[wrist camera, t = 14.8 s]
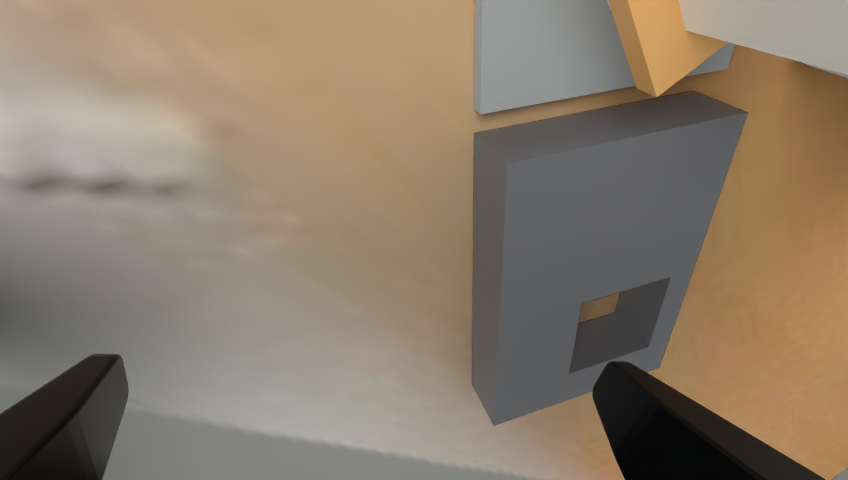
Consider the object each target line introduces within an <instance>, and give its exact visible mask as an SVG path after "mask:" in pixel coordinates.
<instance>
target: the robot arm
mask: <svg viewBox="0 0 848 480" xmlns="http://www.w3.org/2000/svg"><path fill="white" fill-rule="evenodd" d="M592 394H593V400H594V403H595V406H596V408H597V411H598V414H599V416H600V419H601V422H602V424H603V427H604V430H605V432H606V435H607V437H608V440H609V443H610V445H611V448H612V451H613V453H614V456H615V458H616V461H617V463H618V465H619V467H620V470H621V472H622V474H623V476H624V478H625V480H825V479H824V478H822V477H821V476H819V475H817V474H816V473H814V472H812V471H811V470H809V469H807V468H806V467H804V466H802V465H801V464H799V463H797V462H795V461H794V460H792V459H790V458H789V457H787V456H785V455H784V454H782V453H780V452H779V451H777V450H775V449H774V448H772V447H770V446H769V445H767V444H765V443H764V442H762V441H760V440H759V439H757V438H755V437H754V436H752V435H750V434H749V433H747V432H745V431H744V430H742V429H740V428H739V427H737V426H735V425H734V424H732V423H730V422H729V421H727V420H725V419H724V418H722V417H720V416H719V415H717V414H715V413H713V412H712V411H710V410H708V409H707V408H705V407H703V406H702V405H700V404H698V403H697V402H695V401H693V400H692V399H690V398H688V397H687V396H685V395H683V394H682V393H680V392H678V391H677V390H675V389H673V388H672V387H670V386H668V385H667V384H665V383H663V382H662V381H660V380H658V379H657V378H655V377H653V376H652V375H650V374H648V373H647V372H645V371H643V370H642V369H640V368H638V367H636V366H635V365H633V364H631V363H629V362H626V361H611V362H609V363H607V364H606V366H605V367H604V369H603V371H602V372H601V374H600V376H599V377H598V379H597V381H596V382H595V384H594V386H593V393H592ZM127 399H128V382H127V378H126V373H125V368H124V363H123V359H122V357H121V356H120V355H118V354H92V355H90V356H88V357H87V358H85V359H84V360H82V361H81V362H79V363H77V364H76V365H74V366H73V367H71V368H70V369H68V370H67V371H65V372H64V373H62V374H61V375H59V376H58V377H56V378H55V379H53V380H51V381H50V382H48V383H47V384H45V385H44V386H42V387H41V388H39V389H38V390H36V391H35V392H33V393H32V394H30V395H29V396H27V397H25V398H24V399H22V400H21V401H20V402H18V403H16V404H15V405H13V406H12V407H10V408H9V409H7V410H6V411H4V412H3V413H1V414H0V480H102V477H103V475H104V472H105V469H106V466H107V462H108V460H109V456H110V453H111V450H112V447H113V444H114V441H115V437H116V434H117V431H118V428H119V425H120V421H121V418H122V415H123V413H124V409H125V406H126V403H127Z"/></svg>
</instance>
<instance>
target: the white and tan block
mask: <svg viewBox="0 0 848 480" xmlns="http://www.w3.org/2000/svg"><path fill="white" fill-rule="evenodd" d="M607 2H608V5H609V8H610V10H611V11H612V14H613V17H614V20H615V23H616V27H617V30H618V33H619V36H620V39H621V42H622V45H623V48H624V51H625V54H626V57H627V60H628V63H629V66H630V69H631V72H632V75H633V78H634V81H635V84H636V87H637V89H639V90H641V91H643V92H646V93H648V94H650V95H652V96H655V97H658V96H659V95H661V94H662V93H663V92H664V91H666V90H667V89H668V88H670V87H671V86H672V85H674V84H675V83H676V82H677V81H679V80H680V79H681V78H683V77H684V76H685V75H687V74H688V73H689V72H690V71H692V70H693V69H694V68H696V67H697V66H698V65H700V64H701V63H702V62H703V61H705V60H706V59H707V58H709V57H710V56H711V55H713V54H714V53H715V52H716V51H718V50H719V49H720V48H722V47H723V46H724V45H726V44H727V43H728V42H730V43H733V44H737V45H741V46H744V47H748V48H751V49H755V50H759V51H762V52H766V53H770V54H773V55H777V56H780V57H784V58H788V59H791V60H795V61H799V62H802V63H806V64H810V65H813V66H817V67H820V68H824V69H828V70H831V71H835V72H839V73H842V74H846V75H848V0H607Z"/></svg>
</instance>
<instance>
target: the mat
mask: <svg viewBox="0 0 848 480" xmlns="http://www.w3.org/2000/svg"><path fill="white" fill-rule="evenodd" d="M735 45H736V44H733V43H730V42H728V43H727V44H726V45H724V46H723V47H722V48H720V49H719V50H718V51H716V52H715V53H714V54H713V55H711V56H710V57H709V58H707V59H706V60H705V61H703V62H702V63H701V64H700V65H698V66H697V67H696V68H694V69H693V70H692V71H690V72H689V73H688V74H687V75H685V76H684V77H687V76H692V75H698V74H703V73H708V72H714V71H719V70H725V69H728V67H729V64H730V61H731V58H732V54H733V51H734V48H735ZM633 86H636V84H635V81H634V78H633V75H632V72H631V69H630V66H629V63H628V60H627V57H626V54H625V51H624V48H623V45H622V42H621V39H620V36H619V33H618V30H617V27H616V23H615V20H614V17H613V14H612V11H611V10H610V8H609V5H608V2H607V0H475V68H474V110H475V111H477V112H478V113H479V114H480V115H481V114H486V113H492V112H497V111H503V110H508V109H513V108H519V107H524V106H530V105H535V104H540V103H546V102H551V101H557V100H562V99H568V98H573V97H578V96H584V95H589V94H595V93H600V92H605V91H611V90H616V89H622V88H627V87H633Z"/></svg>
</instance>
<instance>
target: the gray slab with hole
mask: <svg viewBox="0 0 848 480" xmlns="http://www.w3.org/2000/svg"><path fill="white" fill-rule="evenodd" d="M747 115H748V112H746V111H743V110H741V109H738V108H736V107H733V106H731V105H728V104H726V103H723V102H721V101H718V100H716V99H713V98H711V97H708V96H706V95H703V94H701V93H698V92H696V91H689V92H684V93H679V94H673V95H668V96H663V97H658V98H653V99H648V100H643V101H637V102H632V103H627V104H622V105H617V106H612V107H606V108H601V109H596V110H591V111H586V112H581V113H575V114H570V115H565V116H560V117H555V118H550V119H544V120H539V121H534V122H529V123H524V124H519V125H514V126H508V127H503V128H498V129H493V130H488V131H483V132H477V133H474V187H473V305H472V385H473V387H474V389H475V391H476V393H477V395H478V397H479V399H480V401H481V402H482V404H483V406H484V408H485V410H486V412H487V414H488V416H489V418H490V420H491V422H492V423H493V425H494V426H495V425H497V424H500V423H503V422H506V421H509V420H512V419H515V418H517V417H520V416H523V415H526V414H529V413H532V412H534V411H537V410H540V409H543V408H546V407H549V406H552V405H554V404H557V403H560V402H563V401H566V400H569V399H571V398H574V397H577V396H580V395H583V394H586V393H588V392H591V391H593V386H594V384H595V382H596V381H597V379H598V377H599V376H600V374H601V372H602V371H603V369H604V367H605V366H606V364H607V363H609V362H611V361H626V362H629V363H631V364H633V365H635V366H636V367H638V368H640V369H642V370H643V371H645V372H648V371H651V370H654V369H657V368H660V365H661V362H662V359H663V356H664V353H665V350H666V347H667V345H668V342H669V339H670V336H671V333H672V330H673V327H674V324H675V322H676V319H677V316H678V313H679V310H680V307H681V304H682V301H683V299H684V296H685V293H686V290H687V287H688V284H689V281H690V278H691V276H692V273H693V270H694V267H695V264H696V261H697V258H698V255H699V253H700V250H701V247H702V244H703V241H704V238H705V235H706V232H707V230H708V227H709V224H710V221H711V218H712V215H713V212H714V209H715V207H716V204H717V201H718V198H719V195H720V192H721V189H722V186H723V184H724V181H725V178H726V175H727V172H728V169H729V166H730V163H731V161H732V158H733V155H734V152H735V149H736V146H737V143H738V140H739V138H740V135H741V132H742V129H743V126H744V123H745V120H746V117H747ZM619 292H620V296H619V300H618V304H617V308H616V312H615V313H612V314H609V315H606V316H602V317H599V318H596V319H593V320H590V321H586V322H583V323H580V324H578V322H579V316H580V311H581V306H582V303H585V302H589V301H592V300H595V299H599V298H602V297H605V296H609V295H612V294H615V293H619Z"/></svg>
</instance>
